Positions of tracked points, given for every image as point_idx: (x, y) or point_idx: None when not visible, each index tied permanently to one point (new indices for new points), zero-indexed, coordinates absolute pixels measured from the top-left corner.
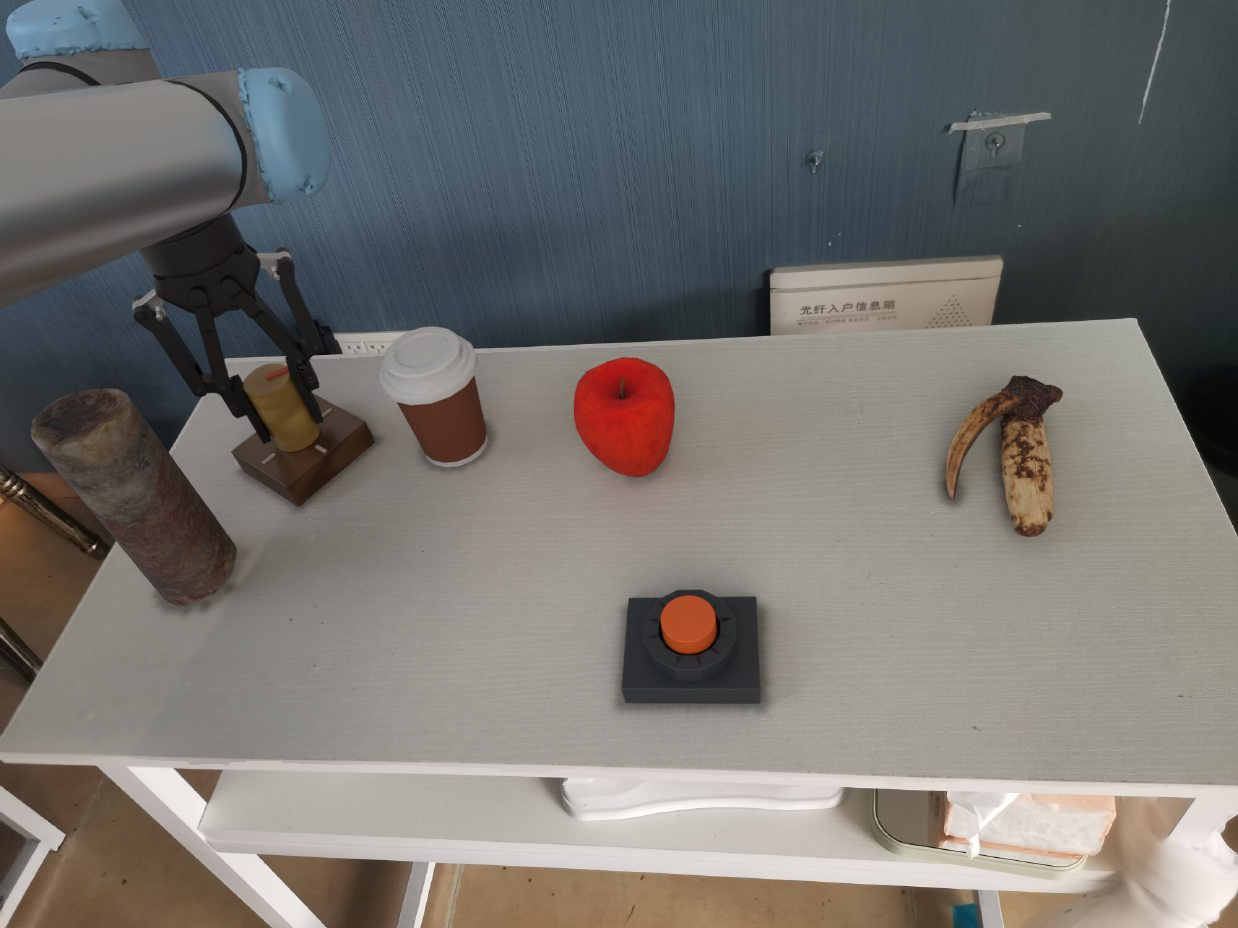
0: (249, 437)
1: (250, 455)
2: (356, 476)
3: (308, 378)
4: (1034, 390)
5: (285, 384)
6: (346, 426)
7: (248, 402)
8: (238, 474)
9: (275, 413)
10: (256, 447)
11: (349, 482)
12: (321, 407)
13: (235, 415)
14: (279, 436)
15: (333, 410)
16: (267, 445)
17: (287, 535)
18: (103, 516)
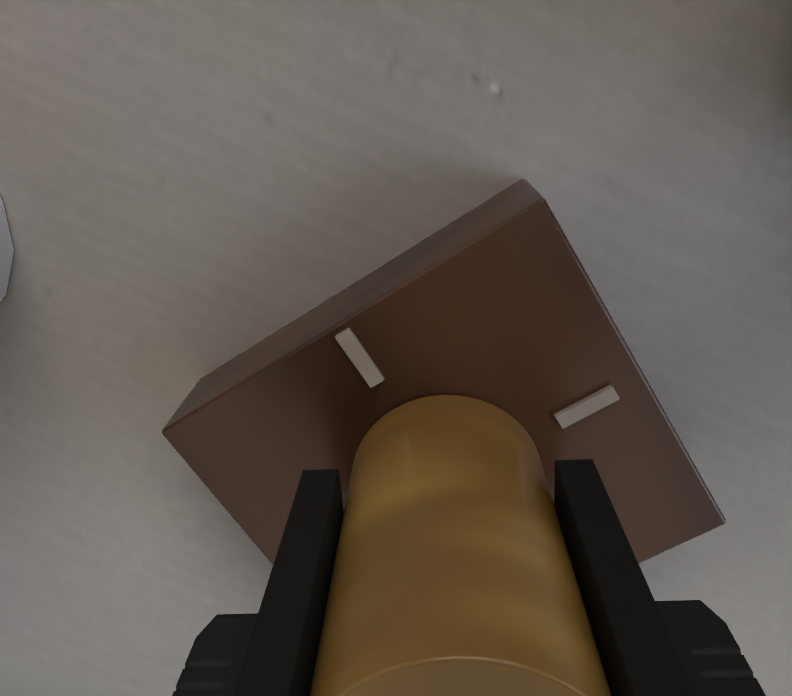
0: (638, 560)
1: (655, 463)
2: (284, 239)
3: (221, 685)
4: None
5: (340, 685)
6: (241, 438)
7: (620, 655)
8: (703, 455)
9: (480, 535)
10: (622, 495)
11: (314, 219)
12: None
13: (709, 618)
14: (510, 455)
15: None
16: None
17: (595, 37)
18: None
